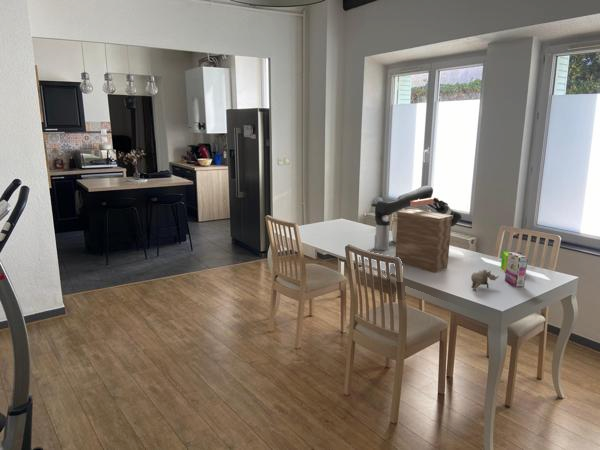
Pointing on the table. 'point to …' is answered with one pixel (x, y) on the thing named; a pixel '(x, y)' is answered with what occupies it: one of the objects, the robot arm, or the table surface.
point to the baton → (422, 202)
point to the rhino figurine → (481, 278)
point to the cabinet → (423, 239)
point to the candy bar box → (516, 269)
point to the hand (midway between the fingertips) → (431, 198)
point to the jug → (394, 228)
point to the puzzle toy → (505, 260)
